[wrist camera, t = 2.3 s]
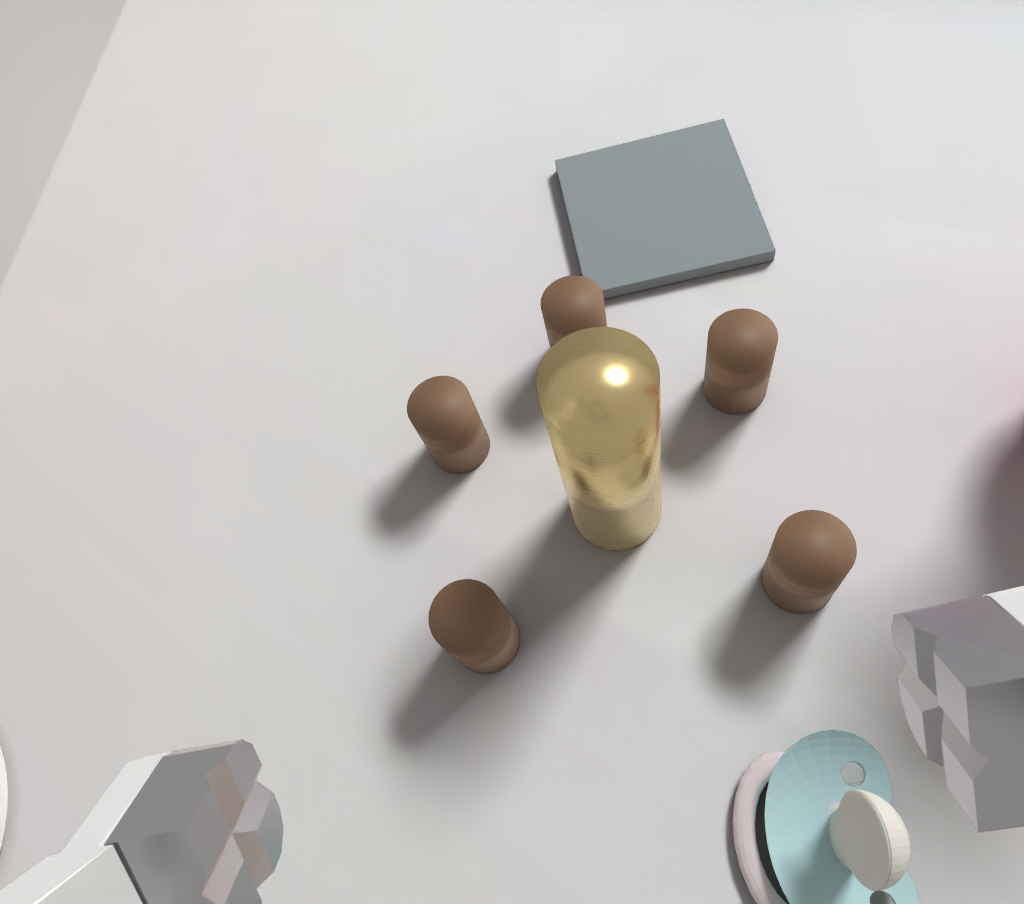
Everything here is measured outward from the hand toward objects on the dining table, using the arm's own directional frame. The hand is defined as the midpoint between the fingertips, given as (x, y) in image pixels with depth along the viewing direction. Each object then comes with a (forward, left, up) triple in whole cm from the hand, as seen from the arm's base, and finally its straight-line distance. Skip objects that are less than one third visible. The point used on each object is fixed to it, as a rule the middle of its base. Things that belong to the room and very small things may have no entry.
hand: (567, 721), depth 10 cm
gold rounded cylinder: (+2, +13, -25) cm, 28 cm away
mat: (+8, +30, -25) cm, 39 cm away
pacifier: (+6, -2, -25) cm, 26 cm away
